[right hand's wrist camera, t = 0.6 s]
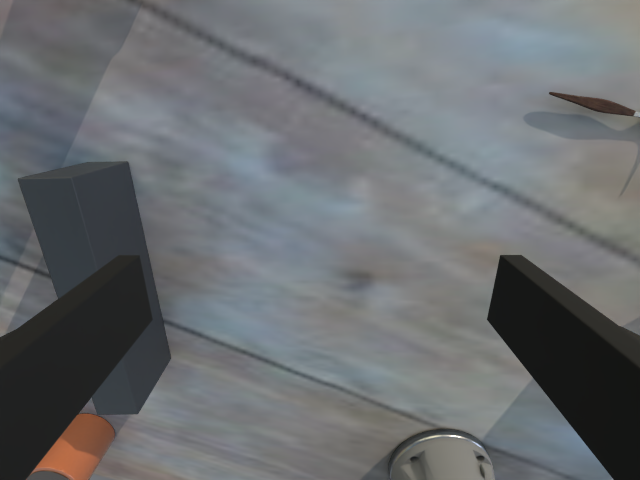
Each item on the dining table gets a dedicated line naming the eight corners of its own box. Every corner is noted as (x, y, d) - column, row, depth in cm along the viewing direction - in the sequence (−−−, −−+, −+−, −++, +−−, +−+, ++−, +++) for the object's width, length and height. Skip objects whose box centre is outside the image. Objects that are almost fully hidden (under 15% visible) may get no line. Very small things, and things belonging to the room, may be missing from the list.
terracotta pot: (120, 447, 52) (85, 505, 44) (74, 448, 52) (32, 506, 44) (108, 412, 49) (70, 467, 42) (60, 413, 49) (13, 468, 42)
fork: (551, 78, 33) (565, 77, 32) (697, 115, 35) (719, 115, 33) (540, 106, 34) (552, 106, 33) (682, 141, 36) (702, 143, 34)
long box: (171, 358, 46) (138, 414, 37) (138, 358, 46) (97, 415, 38) (128, 161, 37) (71, 177, 28) (86, 162, 37) (16, 178, 28)
